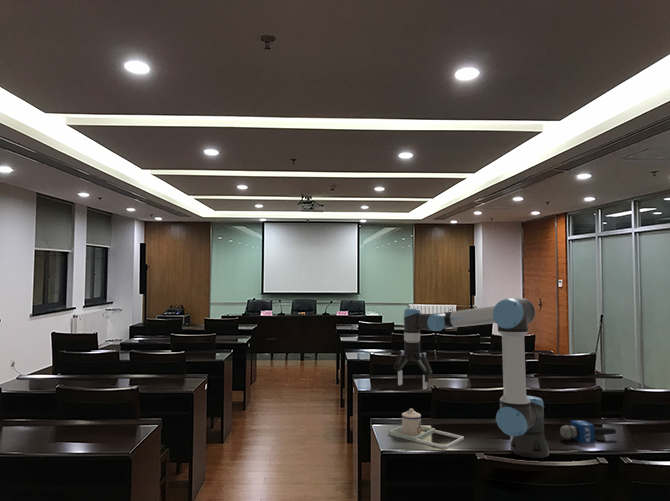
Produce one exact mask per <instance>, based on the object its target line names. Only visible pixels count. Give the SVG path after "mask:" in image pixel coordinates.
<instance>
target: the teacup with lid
mask: <svg viewBox="0 0 670 501" xmlns="http://www.w3.org/2000/svg"><path fill="white" fill-rule="evenodd" d="M421 418H422V415H421V413H419V412H416V411H415V410H414V408H409V409H408V410H407V411H405V412H402V413H401V426H402V430H401V431H402V432H401V433H402V434H406V435H410V436H414V437H416V436H418V435H420V434H422V430H421V425H422V423H421V421H422V420H421Z"/></svg>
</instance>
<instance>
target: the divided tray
mask: <svg viewBox="0 0 670 501" xmlns="http://www.w3.org/2000/svg"><path fill="white" fill-rule="evenodd" d="M421 429H422V430H421V431H425V430H427V431H425V432H423V433H421V434H420V435H418V436H416V437H414V436H410V435H406V434H402V432H401V431H402V425H400V426H398V427H395V428H392V429H390V430H389V431H388V436H392V437H396V438H400V439H404V440H408V441H412V442H415V443H419V444H424V445H426V446H430V447H434V446H435V447H434V448H438V447H440V448H439V449H442V448H445V449H444V450H447V449H449V448H451V447H452V446H454V445H456V444H458V443H460V442H462V441H463V440H465V436H463V435H459V434H455V433H451V432H447V431H442V430H436V428H434V427H429V426H425V425H422V424H421ZM433 434H438V435H442V436H446V437H450V438H453V439H454V438H455V440H453V441H451V442H450V443H448V444H446V445H443V444H440V443H436V442H431V441H429V440H424V438H427V437H428V436H431V435H433ZM446 448H447V449H446Z"/></svg>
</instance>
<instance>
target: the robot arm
mask: <svg viewBox="0 0 670 501" xmlns="http://www.w3.org/2000/svg"><path fill="white" fill-rule="evenodd" d="M403 313H404V314H403V324H404V325H403V326H404V327H403V328H404V331H403V340H404V343H403V345H404V346H403V347H404V348H403V349H404V350H403V349H401V350H399V351H398V354H397V357H396V360H395V362H394V364H393V367H392V369H393V370H396V378H397V386H401V385H403V368H404V366H405V365H406V364H407V363H408V362H415V363H416V364H417V365H418V367H419V368H420V370H421V371H422V373H423V374H422V390H427V389H428V382H429V381H430V379H429V378H430V376H429V375H431V374H433V370H432V366H431V365H430V362H429V360H428V358H427V353H426V352H421V342H420V341H421V330H424V331H425V330H426V331H433V332H441V331H442V330H444V329H450V328H451V329H453V328H454V329H455V328H460V327H471V326H481V325H489V324H490V325H491V324H496V325H497V332H498V333H499V334H500V335H501V348H502V349H501V350H502V379H503V380H502V381H503V382H502V385H503V395H502V396H501V397H500V398H499V409H498V410H497V413H496V416H495V421H496V423H497V424H496V425H497V426H498V428H499V429H500V430H501V431H502V433H504V434H506V435H507V436H509V437H512V438H511V441H510V445H509V446H510V447H509V448H510V449H511V450H510V452H512V451H513V452H514V453H513V452H512V453H513V454H515V455H518V456H520V457H524V458H530V459H543V458H547V457H548V456H549V455H550V450H549V445H548V443H547V439H546V437H545V413H544V408H545V405H544V401H543V399H542V398H541V397H537V396H532V395H527V382H526V379H527V378H526V375H527V374H526V356H525V355H526V352H525V336H526V335H527V334H528V333H529V324H531V323H532V322H533V321H534V320H535V319H534V318H535V317H536V308H535V306H534V304H533V302H531V301H530V300H529V299H527V298H524V297H515V298H513V297H510V298H508V297H507V298H504V299H501V300H499V301H498V302H497V303H496V304H495V305H492V306H485V307H477V308H470V309H461V310H454V311H446V312H438V313H437V312H435V313H422V312H421V311H420V308H405V309H404V311H403ZM403 356H404V357H403ZM402 359H403V360H402Z"/></svg>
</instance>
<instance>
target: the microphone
mask: <svg viewBox="0 0 670 501" xmlns="http://www.w3.org/2000/svg"><path fill="white" fill-rule="evenodd" d="M559 433H560V435H561V437H562V438H565V439H568V440H571V439H573V440H575V441H577V442H579V443H580V444H591V443H592V444H593V443H595V436H605V435H606V436H607V435H613V434H617V431H616V429H615V428H614V427H613V428H612V427H595V425H594V424H593V423H590V422H588V421H586V420H583V419H581V420H577V419H576V420H575V419H574V420H570V425H569V424H566V425H562V426H561V427H560V429H559Z"/></svg>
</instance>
